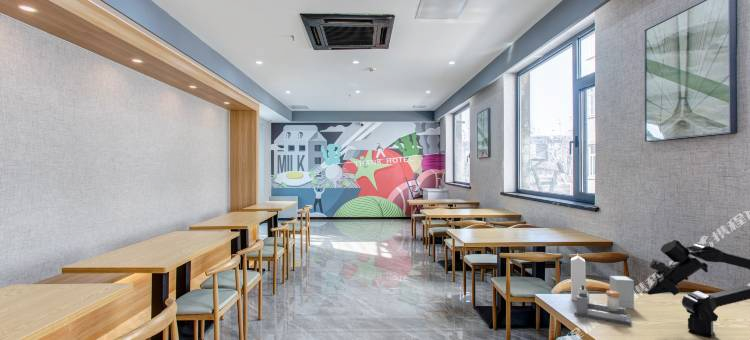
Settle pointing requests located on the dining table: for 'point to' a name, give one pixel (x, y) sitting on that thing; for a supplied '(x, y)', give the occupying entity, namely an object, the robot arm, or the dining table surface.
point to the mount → (600, 311)
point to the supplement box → (623, 290)
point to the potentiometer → (582, 291)
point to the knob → (613, 301)
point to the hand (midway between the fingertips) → (648, 293)
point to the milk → (577, 275)
